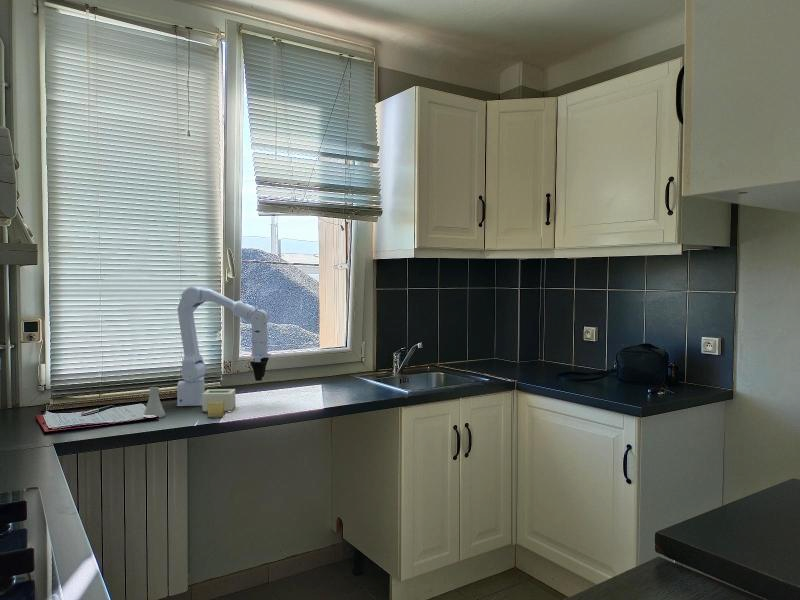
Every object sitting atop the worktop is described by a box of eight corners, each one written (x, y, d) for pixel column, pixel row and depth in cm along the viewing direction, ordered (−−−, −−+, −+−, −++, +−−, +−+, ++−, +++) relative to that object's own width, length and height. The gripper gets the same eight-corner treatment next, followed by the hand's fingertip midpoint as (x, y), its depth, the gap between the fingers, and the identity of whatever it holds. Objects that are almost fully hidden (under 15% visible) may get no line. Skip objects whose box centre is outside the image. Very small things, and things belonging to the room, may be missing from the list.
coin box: (202, 412, 211) (202, 394, 211) (207, 407, 220) (207, 389, 219) (231, 411, 212) (231, 393, 212) (235, 406, 221) (235, 389, 220)
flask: (158, 413, 210) (158, 385, 210) (169, 416, 206) (169, 387, 205) (138, 417, 205) (138, 388, 204) (149, 420, 200) (149, 390, 200)
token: (208, 417, 204) (207, 403, 204) (209, 416, 206) (209, 401, 206) (223, 417, 204) (222, 403, 204) (224, 415, 207) (224, 401, 207)
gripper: (268, 344, 216) (268, 382, 216) (272, 340, 230) (272, 375, 231) (248, 344, 215) (248, 382, 215) (253, 340, 229) (253, 375, 230)
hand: (259, 378), depth 223 cm, fingers open, 7 cm apart
